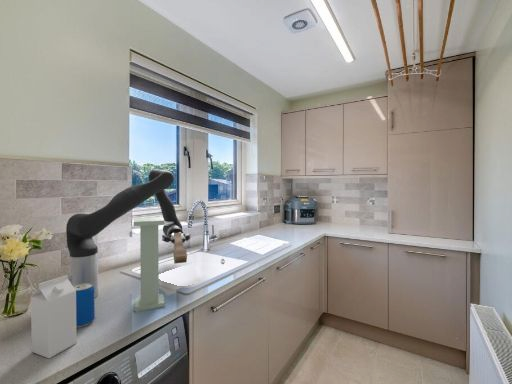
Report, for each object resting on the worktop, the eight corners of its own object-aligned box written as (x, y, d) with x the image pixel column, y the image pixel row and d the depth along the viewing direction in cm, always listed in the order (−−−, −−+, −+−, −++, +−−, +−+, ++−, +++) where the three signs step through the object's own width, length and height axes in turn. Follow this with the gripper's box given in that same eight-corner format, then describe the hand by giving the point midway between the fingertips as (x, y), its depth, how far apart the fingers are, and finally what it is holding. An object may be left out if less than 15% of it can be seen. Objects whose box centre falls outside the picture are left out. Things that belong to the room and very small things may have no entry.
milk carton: (31, 352, 68) (30, 281, 67) (60, 337, 75) (59, 273, 74) (48, 359, 65) (47, 285, 65) (76, 343, 72) (76, 276, 72)
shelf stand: (164, 308, 93) (164, 220, 92) (134, 313, 89) (133, 221, 88) (163, 297, 101) (163, 217, 101) (135, 302, 98) (135, 218, 97)
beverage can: (90, 315, 87) (90, 281, 87) (97, 322, 83) (97, 285, 83) (67, 323, 82) (67, 286, 82) (74, 331, 78) (73, 292, 78)
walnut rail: (186, 262, 110) (187, 255, 108) (174, 263, 108) (174, 256, 106) (182, 237, 122) (183, 231, 120) (171, 238, 121) (171, 231, 119)
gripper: (160, 227, 129) (161, 233, 113) (189, 225, 134) (194, 231, 118) (160, 242, 129) (162, 250, 113) (189, 240, 134) (194, 247, 119)
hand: (178, 240), depth 116 cm, fingers closed on walnut rail, 3 cm apart
